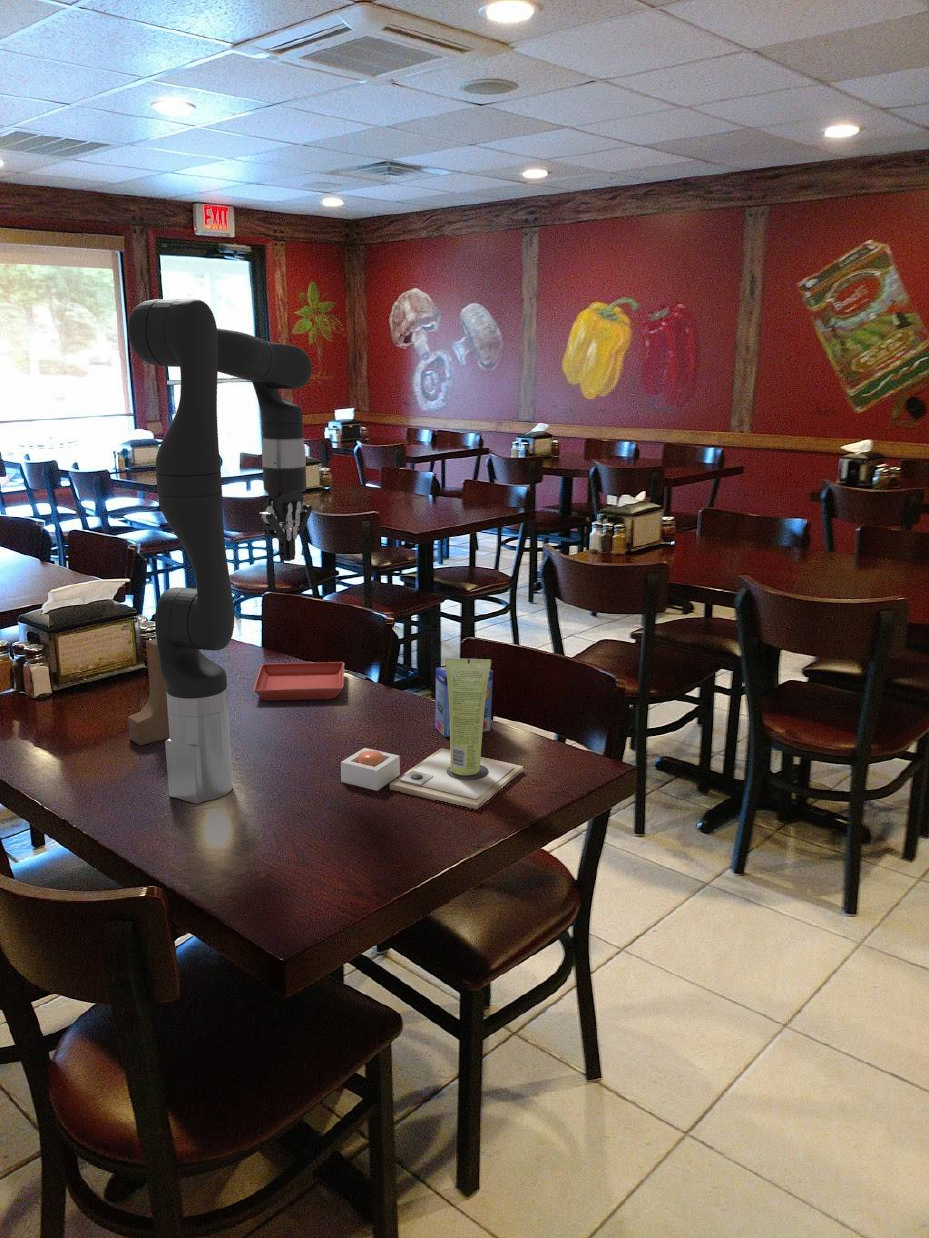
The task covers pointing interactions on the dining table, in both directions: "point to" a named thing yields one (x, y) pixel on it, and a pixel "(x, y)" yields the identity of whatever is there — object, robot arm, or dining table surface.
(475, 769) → the tube
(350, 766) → the button housing
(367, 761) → the button
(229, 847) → the dining table surface
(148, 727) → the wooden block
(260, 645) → the dining table surface
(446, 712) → the ink cartridge box
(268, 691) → the plant saucer
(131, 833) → the dining table surface
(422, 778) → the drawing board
